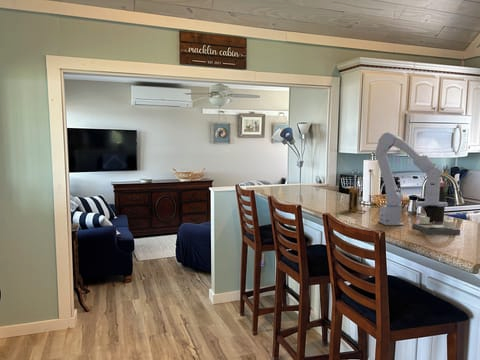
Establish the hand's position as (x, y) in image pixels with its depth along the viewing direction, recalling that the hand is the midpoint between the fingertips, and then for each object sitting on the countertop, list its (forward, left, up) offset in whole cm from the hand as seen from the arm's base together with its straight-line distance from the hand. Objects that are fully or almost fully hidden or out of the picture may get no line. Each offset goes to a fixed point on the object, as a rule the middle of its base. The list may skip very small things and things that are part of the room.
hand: (430, 221), depth 170 cm
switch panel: (0, -5, -3) cm, 5 cm away
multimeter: (-17, +40, -3) cm, 44 cm away
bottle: (+13, +15, -3) cm, 20 cm away
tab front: (+3, -9, -1) cm, 10 cm away
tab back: (-3, 0, -1) cm, 3 cm away
